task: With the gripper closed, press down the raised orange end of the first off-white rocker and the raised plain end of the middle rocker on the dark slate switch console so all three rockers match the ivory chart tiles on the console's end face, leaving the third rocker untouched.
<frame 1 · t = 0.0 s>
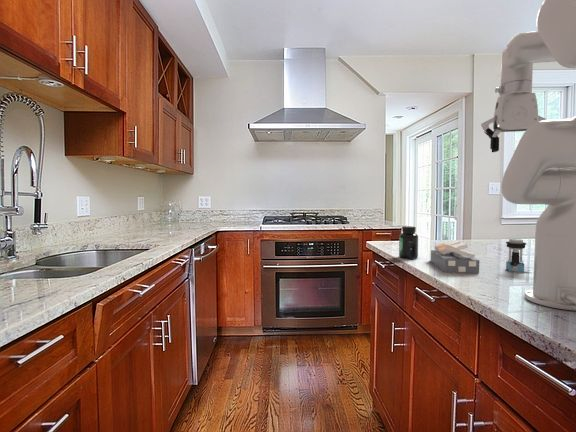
hand: (513, 151, 97), 37 cm above the countertop, tool pointing down, fingers open, 9 cm apart
rocker 3: (447, 245, 119), point 6 cm above the countertop, hinge at -18.0°
rocker 2: (452, 248, 113), point 6 cm above the countertop, hinge at -18.0°
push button: (517, 271, 106), on the countertop
rocker 1: (459, 251, 107), point 6 cm above the countertop, hinge at 18.0°
supplement bottle: (408, 258, 129), on the countertop
console: (452, 266, 113), on the countertop
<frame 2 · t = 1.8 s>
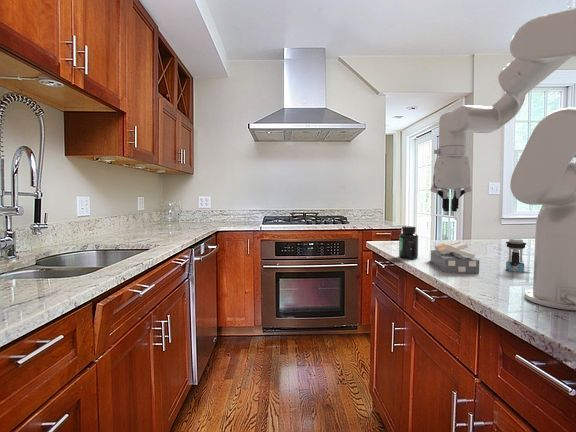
hand: (450, 210, 107), 19 cm above the countertop, tool pointing down, fingers closed
nothing on the countertop moved.
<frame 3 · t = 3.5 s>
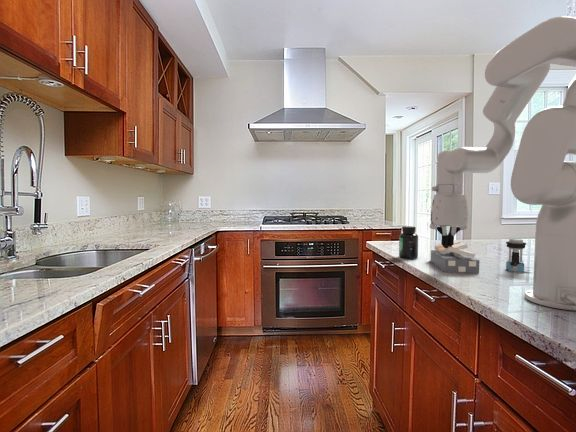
hand: (447, 247, 108), 7 cm above the countertop, tool pointing down, fingers closed
rocker 1: (459, 251, 107), point 6 cm above the countertop, hinge at 15.2°, touching gripper
everything else where it was.
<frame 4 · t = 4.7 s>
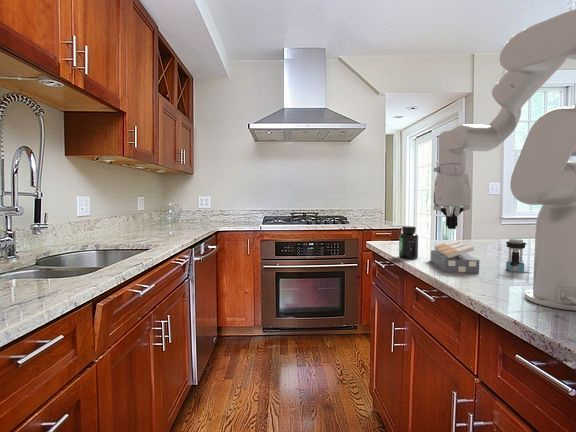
hand: (451, 228, 106), 14 cm above the countertop, tool pointing down, fingers closed
rocker 1: (458, 251, 107), point 6 cm above the countertop, hinge at -19.5°
everything else where it was.
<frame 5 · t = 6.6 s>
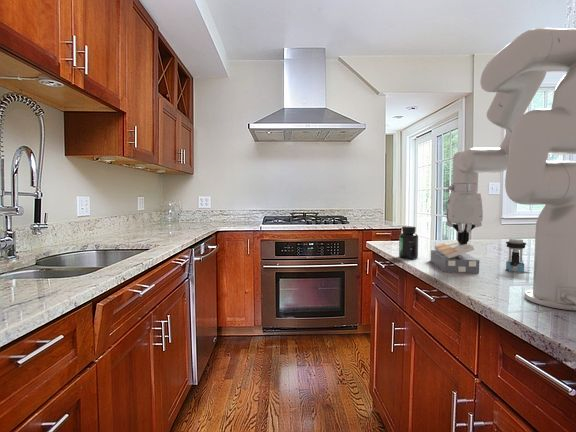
hand: (462, 243, 113), 8 cm above the countertop, tool pointing down, fingers closed
rocker 2: (452, 248, 113), point 6 cm above the countertop, hinge at -17.7°, touching gripper
rocker 1: (458, 251, 107), point 6 cm above the countertop, hinge at -21.5°
everything else where it was.
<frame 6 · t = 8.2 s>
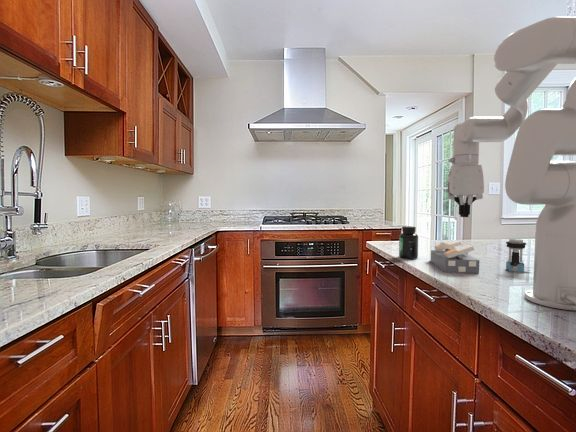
hand: (464, 216, 112), 17 cm above the countertop, tool pointing down, fingers closed
rocker 2: (453, 248, 113), point 6 cm above the countertop, hinge at 16.4°
rocker 1: (458, 251, 107), point 6 cm above the countertop, hinge at -20.9°
everything else where it was.
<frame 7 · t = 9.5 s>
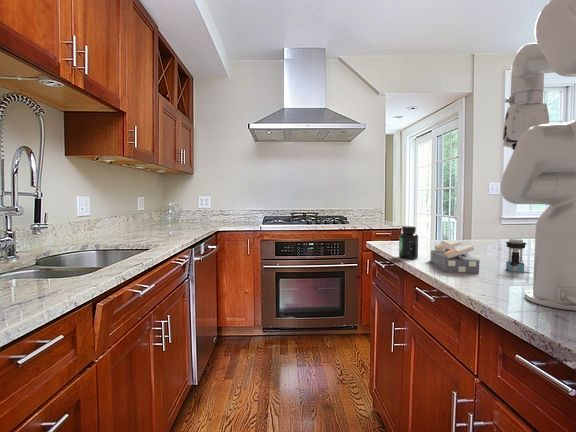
hand: (523, 166, 95), 32 cm above the countertop, tool pointing down, fingers closed
rocker 2: (453, 248, 113), point 6 cm above the countertop, hinge at 23.2°
everything else where it was.
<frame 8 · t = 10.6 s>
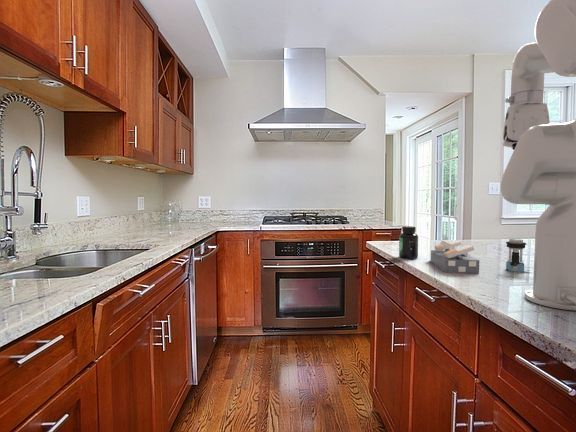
hand: (523, 166, 95), 32 cm above the countertop, tool pointing down, fingers closed
rocker 2: (453, 248, 113), point 6 cm above the countertop, hinge at 24.6°, touching console
everything else where it was.
at the end: rocker 1 at -21° (first picture: +18°); rocker 2 at +25° (first picture: -18°); rocker 3 at -18° (first picture: -18°) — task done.
